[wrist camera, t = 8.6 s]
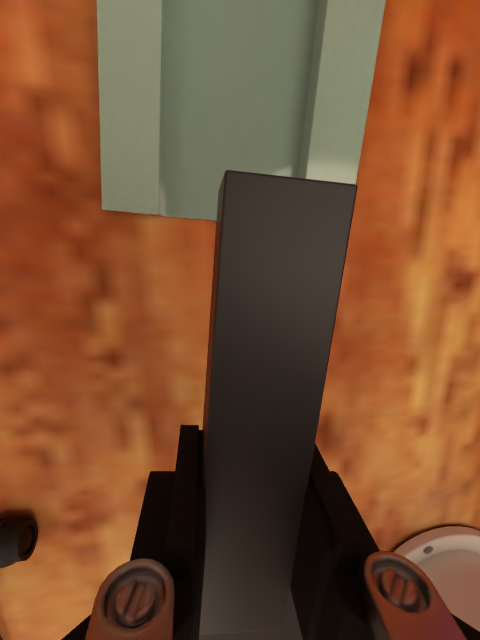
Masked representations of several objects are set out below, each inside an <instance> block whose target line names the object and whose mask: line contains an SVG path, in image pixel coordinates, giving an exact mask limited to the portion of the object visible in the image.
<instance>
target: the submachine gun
mask: <svg viewBox="0 0 480 640" xmlns="http://www.w3.org/2000/svg"><path fill="white" fill-rule="evenodd" d="M37 537H38V528H37V524H36V522H35V520H33V519H29V520H23V519H21V518H8V519H2V520H0V568H3V567H7V566H10V565H12V564H14V563H15V562H19V561H25V560H27V559H28V558H29V557H30V556H31V555H32V553H33V551H34V549H35V546H36V542H37ZM0 640H2V638H1V636H0Z"/></svg>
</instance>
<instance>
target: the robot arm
mask: <svg viewBox="0 0 480 640" xmlns="http://www.w3.org/2000/svg"><path fill="white" fill-rule="evenodd" d="M205 548H206V490H204V489H203V430H199V425H181V428H180V437H179V445H178V453H177V461H176V470H175V471H151V472H150V474H149V478H148V483H147V487H146V492H145V496H144V501H143V505H142V509H141V514H140V518H139V523H138V527H137V532H136V536H135V541H134V545H133V549H132V554H131V558H130V561H129V562H127V563H125V564H123V565H121V566H119V567H117V568H116V569H115V570H114V571H113V572H111V573H110V574H109V575H108V576H107V578H106V579H105V581H104V582H103V583H102V585H101V586H100V588H99V591H98V593H97V596H96V598H95V602H94V606H93V610H92V614H91V615H90V616H88V617H87V618H86V619H85V620H84V621H83V622H81V623H80V624H79V625H78V626H77V627H76V628H74V629H73V630H72V631H71V632H70V633H69V634H67V635H66V636H65V637H64V638H63V639H61V640H199V630H200V617H201V604H202V591H203V577H204V564H205ZM290 589H291V593H292V598H293V602H294V606H295V610H296V614H297V619H298V623H299V627H300V631H301V635H302V639H303V640H480V531H478V530H475V529H473V528H468V527H462V526H448V527H442V528H436V529H432V530H430V531H427V532H424V533H421V534H419V535H417V536H415V537H413V538H411V539H409V540H408V541H406V542H405V543H404V544H402V545H401V546H399V547H398V548H397V549H396V550H395V551H394V552H388V551H380V550H379V549H378V547H377V545H376V543H375V541H374V539H373V537H372V536H371V534H370V532H369V530H368V528H367V526H366V525H365V523H364V521H363V519H362V517H361V515H360V514H359V512H358V510H357V508H356V506H355V504H354V502H353V501H352V499H351V497H350V495H349V493H348V491H347V490H346V488H345V486H344V484H343V482H342V480H341V478H340V477H339V475H338V474H337V473H336V472H334V471H329V469H328V468H327V466H326V464H325V462H324V460H323V458H322V456H321V454H320V452H319V450H318V448H317V446H316V444H315V445H314V451H313V457H312V463H311V469H310V475H309V481H308V487H307V489H306V492H305V498H304V504H303V511H302V517H301V523H300V529H299V535H298V541H297V547H296V553H295V559H294V566H293V572H292V578H291V584H290Z"/></svg>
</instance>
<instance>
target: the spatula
mask: <svg viewBox="0 0 480 640" xmlns="http://www.w3.org/2000/svg"><path fill="white" fill-rule="evenodd" d="M356 192H357V185H355V184H349V183H340V182H331V181H322V180H313V179H304V178H296V177H287V176H278V175H269V174H260V173H251V172H243V171H234V170H226V171H225V173H224V176H223V179H222V182H221V185H220V188H219V191H218V205H217V220H216V236H215V251H214V266H213V281H212V296H211V311H210V326H209V342H208V357H207V372H206V387H205V402H204V417H203V489H204V490H206V548H205V564H204V577H203V591H202V604H201V617H200V630H199V640H303V639H302V635H301V631H300V627H299V623H298V619H297V614H296V610H295V606H294V602H293V598H292V593H291V589H290V584H291V578H292V572H293V566H294V559H295V553H296V547H297V541H298V535H299V529H300V523H301V517H302V511H303V504H304V498H305V492H306V489H307V487H308V481H309V475H310V469H311V463H312V457H313V451H314V445H315V439H316V433H317V427H318V421H319V415H320V409H321V403H322V397H323V391H324V385H325V379H326V373H327V367H328V361H329V355H330V349H331V343H332V337H333V331H334V325H335V319H336V313H337V307H338V301H339V295H340V288H341V282H342V276H343V270H344V264H345V258H346V252H347V246H348V240H349V234H350V228H351V222H352V216H353V210H354V204H355V198H356Z"/></svg>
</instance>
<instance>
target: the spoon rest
mask: <svg viewBox="0 0 480 640" xmlns="http://www.w3.org/2000/svg"><path fill="white" fill-rule="evenodd" d="M385 1H386V0H97V38H98V78H99V119H100V160H101V200H102V210H106V211H111V212H120V213H132V214H143V215H154V216H165V217H176V218H188V219H199V220H210V221H216V220H217V205H218V191H219V188H220V185H221V182H222V179H223V176H224V173H225V171H226V170H234V171H243V172H251V173H260V174H269V175H278V176H287V177H296V178H304V179H313V180H322V181H331V182H340V183H349V184H355V185H356V180H357V174H358V168H359V162H360V155H361V149H362V143H363V137H364V131H365V125H366V118H367V112H368V106H369V100H370V94H371V88H372V81H373V75H374V69H375V63H376V57H377V51H378V45H379V38H380V32H381V26H382V20H383V14H384V8H385Z"/></svg>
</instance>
